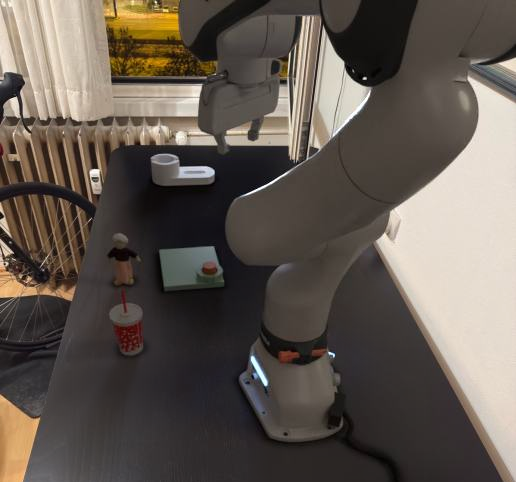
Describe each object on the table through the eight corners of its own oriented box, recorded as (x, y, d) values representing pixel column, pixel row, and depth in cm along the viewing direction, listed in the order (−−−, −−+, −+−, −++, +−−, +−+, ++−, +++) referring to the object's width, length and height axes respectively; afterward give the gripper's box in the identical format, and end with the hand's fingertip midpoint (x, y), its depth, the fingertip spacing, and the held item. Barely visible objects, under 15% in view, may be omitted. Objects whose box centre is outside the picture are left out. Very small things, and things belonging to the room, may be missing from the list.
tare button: (217, 274, 112) (217, 268, 111) (203, 275, 112) (203, 269, 111) (215, 267, 115) (215, 260, 114) (201, 267, 114) (201, 261, 113)
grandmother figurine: (109, 288, 110) (101, 239, 102) (109, 278, 113) (100, 230, 104) (143, 284, 112) (138, 236, 103) (142, 275, 115) (136, 228, 106)
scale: (224, 286, 114) (224, 276, 111) (164, 291, 111) (163, 280, 109) (213, 250, 125) (213, 240, 123) (159, 254, 122) (158, 244, 120)
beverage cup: (131, 333, 99) (122, 277, 90) (153, 345, 97) (146, 290, 88) (109, 349, 96) (97, 293, 86) (131, 362, 93) (121, 306, 84)
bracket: (153, 186, 150) (151, 165, 146) (151, 174, 156) (150, 154, 152) (216, 184, 154) (216, 163, 150) (212, 172, 160) (212, 152, 156)
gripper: (217, 81, 76) (217, 166, 85) (287, 60, 89) (280, 137, 98) (187, 72, 78) (190, 156, 88) (260, 54, 91) (255, 129, 101)
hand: (238, 146), depth 93 cm, fingers open, 8 cm apart
